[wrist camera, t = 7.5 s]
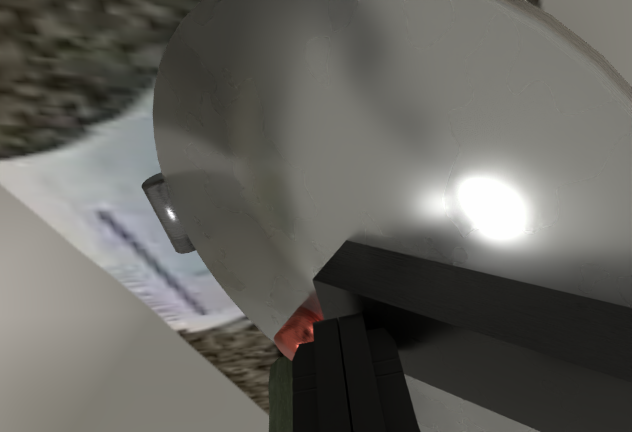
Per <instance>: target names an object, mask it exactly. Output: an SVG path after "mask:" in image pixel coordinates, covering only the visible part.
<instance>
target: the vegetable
mask: <svg viewBox="0 0 632 432" xmlns="http://www.w3.org/2000/svg"><path fill="white" fill-rule="evenodd" d="M292 381H293V378H292V361H291V360H290V359H288V358H287V357H286V356H285V355H284V357H280V358H278V359H277V360H276V361H275V362H274V363H273V365H272V366H271V369H270V376H269V405H270V414H269V432H293V406H292V395H293V392H292Z"/></svg>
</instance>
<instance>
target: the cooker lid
mask: <svg viewBox="0 0 632 432" xmlns="http://www.w3.org/2000/svg"><path fill="white" fill-rule="evenodd" d="M153 126H154V138H155V144H156V150H157V156H158V161H159V164H160V168H161V172H162V173H159V174H156V175H154V176H152V177H150V178H149V179H147V180H146V181H145V182H144V183H143V184H142V188H143V190H144V192H145V194H146V196H147V198H148V200H149V202H150V204H151V205H152V207H153V209H154V211H155V213H156V215H157V217H158V219H159V221H160V222H161V224H162V226H163V228H164V230H165V232H166V234H167V236H168V238H169V239H170V241H171V243H172V245H173V247H174V249H175V251H176V252H178V253H181V254H184V253H189V252H192V251H195V250H196V251H197V252H198V254H199V255H200V257H201V259H202V260H203V262H204V263H205V265H206V266H207V268H208V269H209V270H210V272H211V273H212V275H213V276H214V278H215V279H216V280H217V282H218V283H219V284H220V285H221V287H222V288H223V289H224V291H225V292H226V293H227V294H228V296H229V297H230V298H231V299H232V300H233V302H234V303H235V304H236V305H237V306H238V307H239V308H240V309H241V311H242V312H243V313H244V314H245V315H246V316H247V317H248V318H249V319H250V320H251V321H252V322H253V323H254V324H255V325H256V326H257V328H258V329H259V330H260V331H261V332H262V333H264V334H265V335H266V336H267V337H268V338H269V339H270V340H271V341H272V342H273V343H274V344H275V345H276V346H277V347H278V349H279V350H280V351H281V352H282V353H283V354H284V355H285V356H286V357H287V358H288V359H290V360H291V361H292V359H293V357H294V355H295V352H296V350H297V348H298V345H299V344H302V343H307V342H312V341H314V337H313V322H317V321H322V320H327V319H332V318H337V319H338V317H342V316H347V315H352V314H357V313H362V314H363V319H364V323H365V327H366V331H367V330H372V329H377V328H383V327H384V328H385V329H386V331H387V332H388V333H389V334H390V335H391V336H392V338H393V339H394V340H395V343H396V346H397V350H398V354H399V357H400V361H401V365H402V368H403V372H404V375H405V379H406V383H407V386H408V390H409V394H410V397H411V401H412V404H413V408H414V412H415V415H416V419H417V422H418V426H419V429H420V431H421V432H632V87H631V86H630V85H629V84H628V82H626V80H624V78H623V77H622V76H621V75H620V74H619V73H618V72H617V71H616V69H615V68H614V67H613V66H612V65H611V64H610V63H609V62H608V61H607V60H606V59H605V58H604V56H603V55H601V54H600V53H599V52H598V51H596V50H595V49H594V48H592V47H591V46H590V45H589V44H587V43H586V42H585V41H583V40H582V39H581V38H580V37H578V36H577V35H576V34H575V33H573V32H572V31H571V30H570V29H568V28H567V27H566V26H564V25H563V24H562V23H561V22H559V21H558V20H557V19H555V18H554V17H553V16H552V15H550V14H548V13H546V12H545V11H543V10H541V9H539V8H538V7H536V6H534V5H532V4H530V3H529V2H527V1H525V0H201V1H200V2H199V3H198V4H197V5H196V6H195V7H194V8H193V9H192V10H191V12H190V13H189V14H188V15H187V16H186V17H185V18H184V19H183V20H182V22H181V23H180V25H179V26H178V28H177V29H176V31H175V33H174V34H173V36H172V37H171V39H170V40H169V42H168V45H167V47H166V50H165V52H164V55H163V57H162V60H161V62H160V65H159V69H158V74H157V79H156V83H155V88H154V101H153ZM338 322H339V319H338Z"/></svg>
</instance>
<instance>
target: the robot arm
mask: <svg viewBox="0 0 632 432" xmlns="http://www.w3.org/2000/svg"><path fill="white" fill-rule="evenodd" d="M338 319H339V322H338ZM338 319H337V318H332V319H327V320H322V321H317V322H313V337H314V341H312V342H307V343H302V344H299V345H298V348H297V350H296V352H295V355H294V357H293V359H292V378H293V381H292V392H293V395H292V406H293V432H421V431H420V429H419V426H418V422H417V419H416V415H415V412H414V408H413V404H412V401H411V397H410V394H409V390H408V386H407V383H406V379H405V375H404V372H403V368H402V365H401V361H400V357H399V354H398V350H397V346H396V343H395V340H394V339H393V338H392V336H391V335H390V334H389V333H388V332H387V331H386V329H385V328H384V327H383V328H377V329H372V330H367V331H366V327H365V323H364V319H363V314H362V313H357V314H352V315H347V316H342V317H338Z"/></svg>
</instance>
